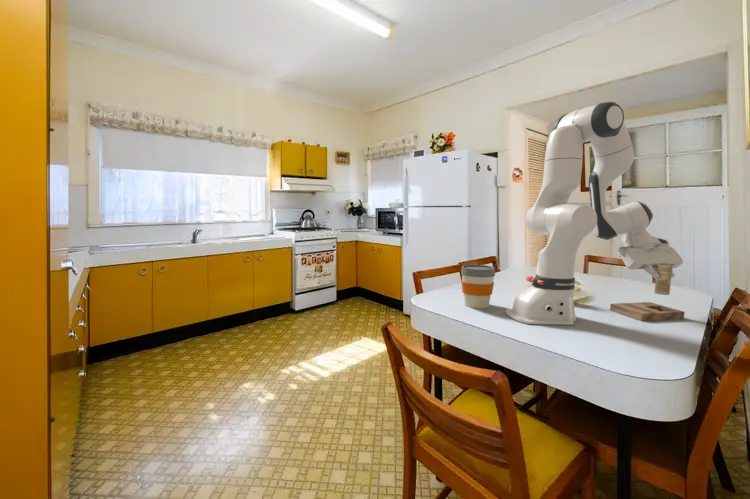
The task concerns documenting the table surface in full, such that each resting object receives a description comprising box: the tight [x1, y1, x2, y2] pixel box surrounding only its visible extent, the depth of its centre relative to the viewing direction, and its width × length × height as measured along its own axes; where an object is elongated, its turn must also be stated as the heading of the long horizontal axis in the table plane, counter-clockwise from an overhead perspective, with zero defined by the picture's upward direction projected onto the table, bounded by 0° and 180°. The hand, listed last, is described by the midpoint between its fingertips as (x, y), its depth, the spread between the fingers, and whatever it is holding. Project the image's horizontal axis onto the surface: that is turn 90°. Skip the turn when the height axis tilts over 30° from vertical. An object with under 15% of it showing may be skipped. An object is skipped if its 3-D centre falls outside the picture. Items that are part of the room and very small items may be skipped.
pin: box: [654, 264, 673, 296], centre depth 117 cm, size 4×4×10 cm
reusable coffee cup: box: [460, 264, 496, 309], centre depth 130 cm, size 13×13×15 cm
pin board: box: [609, 301, 685, 322], centre depth 119 cm, size 16×12×2 cm
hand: (665, 277), depth 116 cm, fingers closed on pin, 4 cm apart
